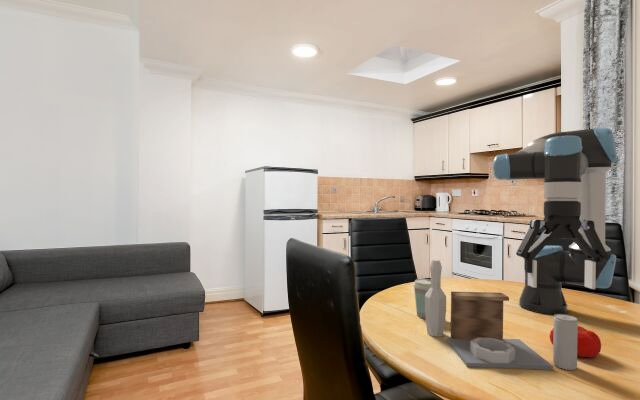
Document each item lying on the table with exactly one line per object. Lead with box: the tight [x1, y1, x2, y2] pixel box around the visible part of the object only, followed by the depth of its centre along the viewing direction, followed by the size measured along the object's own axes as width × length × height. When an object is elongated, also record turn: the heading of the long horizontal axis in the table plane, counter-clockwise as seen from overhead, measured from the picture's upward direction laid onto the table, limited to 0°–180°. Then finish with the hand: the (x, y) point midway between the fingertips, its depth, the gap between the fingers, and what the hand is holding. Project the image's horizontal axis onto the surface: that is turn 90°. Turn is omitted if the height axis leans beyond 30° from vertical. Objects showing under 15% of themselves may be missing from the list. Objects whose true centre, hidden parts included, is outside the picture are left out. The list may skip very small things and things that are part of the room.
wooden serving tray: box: [450, 291, 510, 340], centre depth 99 cm, size 14×4×14 cm, turn 87°
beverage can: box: [552, 313, 579, 371], centre depth 87 cm, size 5×5×12 cm
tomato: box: [549, 325, 602, 358], centre depth 95 cm, size 10×11×6 cm
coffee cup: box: [413, 278, 431, 320], centre depth 123 cm, size 8×8×12 cm
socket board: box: [446, 336, 554, 371], centre depth 94 cm, size 20×16×4 cm
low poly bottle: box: [425, 259, 447, 338], centre depth 107 cm, size 6×6×22 cm
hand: (560, 287), depth 87 cm, fingers open, 13 cm apart
